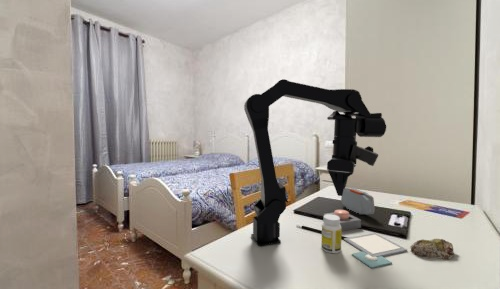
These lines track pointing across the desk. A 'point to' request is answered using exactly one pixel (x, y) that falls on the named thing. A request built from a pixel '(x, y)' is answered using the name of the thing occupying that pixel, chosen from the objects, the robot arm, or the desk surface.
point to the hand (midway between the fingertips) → (341, 191)
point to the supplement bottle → (331, 233)
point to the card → (371, 259)
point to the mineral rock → (433, 248)
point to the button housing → (349, 222)
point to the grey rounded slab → (358, 201)
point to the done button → (342, 214)
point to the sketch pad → (375, 245)
